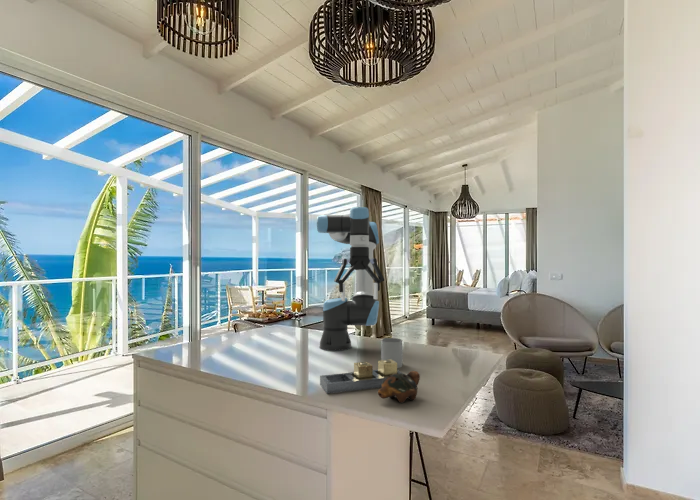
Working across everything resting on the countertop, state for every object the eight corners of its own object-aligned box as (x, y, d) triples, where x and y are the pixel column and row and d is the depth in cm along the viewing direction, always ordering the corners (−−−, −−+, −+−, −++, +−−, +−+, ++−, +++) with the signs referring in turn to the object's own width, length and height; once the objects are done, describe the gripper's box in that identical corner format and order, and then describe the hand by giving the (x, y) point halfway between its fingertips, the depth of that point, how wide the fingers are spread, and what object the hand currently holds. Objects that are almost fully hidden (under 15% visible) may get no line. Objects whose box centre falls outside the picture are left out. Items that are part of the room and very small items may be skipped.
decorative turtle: (429, 398, 122) (428, 372, 121) (392, 413, 113) (391, 385, 113) (407, 388, 130) (406, 364, 129) (371, 401, 121) (370, 375, 120)
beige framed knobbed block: (378, 380, 139) (378, 359, 139) (391, 379, 141) (391, 358, 141) (383, 384, 135) (383, 363, 135) (397, 383, 136) (397, 362, 136)
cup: (401, 368, 153) (401, 342, 153) (380, 367, 155) (380, 342, 155) (403, 362, 162) (402, 338, 162) (383, 361, 163) (382, 337, 163)
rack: (320, 384, 135) (320, 375, 135) (394, 376, 144) (394, 368, 144) (327, 393, 126) (327, 384, 126) (406, 384, 135) (406, 375, 135)
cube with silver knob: (353, 383, 136) (353, 362, 136) (367, 381, 138) (367, 361, 138) (358, 387, 132) (358, 366, 132) (372, 386, 133) (372, 364, 133)
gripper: (331, 246, 149) (331, 302, 149) (392, 246, 157) (392, 299, 157) (326, 246, 156) (326, 300, 156) (384, 246, 164) (384, 297, 164)
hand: (359, 300), depth 156 cm, fingers open, 13 cm apart
